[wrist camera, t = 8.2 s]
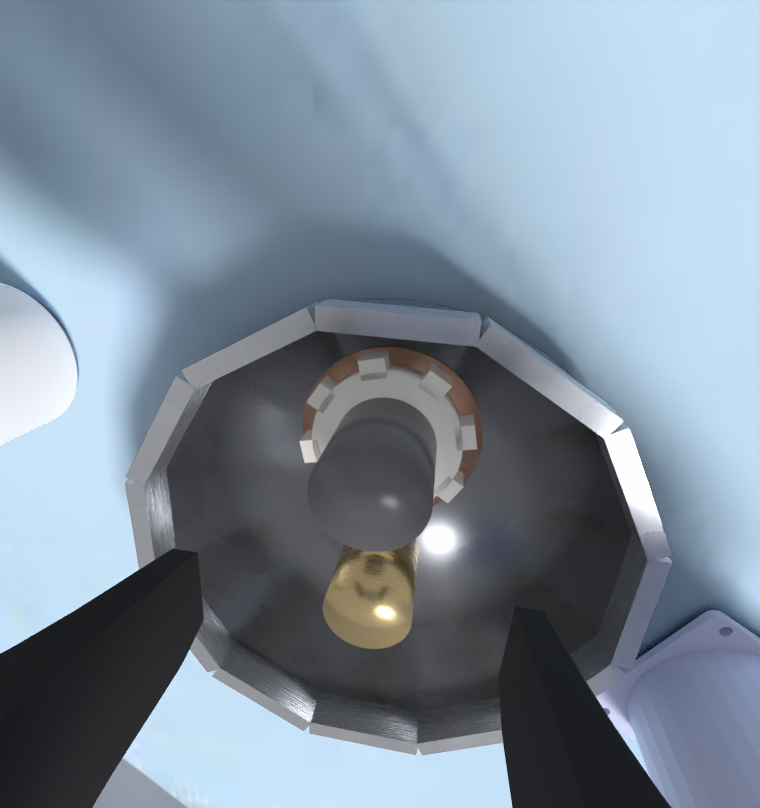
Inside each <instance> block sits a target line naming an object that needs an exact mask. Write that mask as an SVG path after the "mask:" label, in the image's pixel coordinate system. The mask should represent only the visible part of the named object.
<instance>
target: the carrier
mask: <svg viewBox="0 0 760 808" xmlns="http://www.w3.org/2000/svg"><path fill="white" fill-rule="evenodd" d="M381 351H388V354H389V360H390V364H396V365H402V366H407V367H410V368H413V369H416V370H418V371H420V372H422V373H423V372H424V371H425V370H426V369H427V367H428V366H429V365H430V364H431V362H432V363H433V364H435V365H436V366H437V367H439V368H440V369H441V370H443V371H444V372H445V373H447V374H448V375H449V376H451V377H452V387H451V389H450V390H449V391H448V392H447V393H448V394H449V395H450V397H451V398H452V400H453V401H454V403H455V405H456V407H457V409H458V412H459V415H471V414H473V415H474V423H475V432H476V442H477V449H474V450H463V453H462V459H461V463H460V466H459V468H458V470H459V471H461V472H462V473H463V484H464V487H463V488H462V489H461V490H460V491H459V492H458V493H457V494H456V495H455V496H454V498H453V499H452V500H451V501H450V502H449V503H447V502H445V501H444V500H442V499H441V498H440V497H438V496H436V497H435V498H433V510H432V514H431V518H430V520H429V523H428V525H427V526H426V528H425V529H424V531H423V532H422V533H421V534H420V535H419V536H418V537H417V538H416V539H415V540H414V541H412V542H410V543H409V544H407V545H405V546H403V547H401V548H398V549H395V550H390V551H384V552H369V551H362V550H358V549H355V548H352V547H349V546H347V545H345V544H342V543H341V542H339V541H337V540H336V539H334V538H333V537H331V536H330V535H329V534H328V533H327V532H326V531H325V530H324V529H323V528H322V527H321V526H320V525H319V523H318V522H317V520H316V519H315V517H314V515H313V513H312V511H311V509H310V506H309V502H308V496H307V488H308V481H309V477H310V475H311V472H312V470H313V468H314V467H315V465H316V463H317V462H311V463H305V462H304V458H303V454H302V450H301V446H300V442H299V441H300V439H301V438H302V437H303V435H304V434H305V433H306V431H307V430H312V429H313V423H314V419H315V416H316V413H317V411H318V410H316V409H315V408H314V407H312V406H311V405H309V404H308V403H307V401H308V399H309V398H310V396H311V395H312V393H313V392H314V391H315V389H316V388H317V386H318V385H319V384H320V382H321V381H322V380H323V379H324V378H325V377H326V375H328V376H330V377H331V378H332V379H334V380H335V381H337V382H339V381H340V380H342V379H343V378H344V377H346V376H347V375H349V374H350V373H352V372H354V371H356V370H358V369H359V366H358V360H359V359H360V357H361V356H362V354H365V353H373V352H381ZM181 371H182V373H180V374H178V375H176V376H175V378H174V380H173V382H172V384H171V386H170V388H169V390H168V392H167V394H166V396H165V398H164V400H163V402H162V404H161V406H160V408H159V410H158V413H157V415H156V417H155V419H154V421H153V423H152V425H151V427H150V429H149V431H148V433H147V435H146V437H145V439H144V441H143V443H142V445H141V447H140V449H139V451H138V453H137V455H136V457H135V459H134V461H133V463H132V465H131V467H130V469H129V471H128V473H127V475H126V477H127V478H129V480H128V481H127V482H125V486H126V492H127V498H128V504H129V510H130V516H131V522H132V528H133V534H134V540H135V546H136V552H137V558H138V564H139V570H140V569H141V568H143V567H144V566H146V565H147V564H149V563H150V562H152V561H154V560H155V559H157V558H158V557H160V556H161V555H163V554H165V553H166V552H168V551H170V550H171V549H173V548H174V549H180V550H186V551H192V552H197V553H198V562H199V572H200V583H201V593H202V604H203V614H204V620H203V622H202V625H201V627H200V629H199V631H198V633H197V635H196V637H195V639H194V641H193V643H192V645H191V647H190V650H191V651H192V653H193V654H194V655H195V657H196V658H197V659H198V661H199V662H200V663H201V664H202V666H203V667H204V668H205V670H206V671H207V672H210V671H214V670H215V672H214V674H213V676H212V677H214V678H216V679H217V680H219V681H221V682H222V683H224V684H226V685H227V686H229V687H231V688H232V689H234V690H236V691H238V692H239V693H241V694H243V695H244V696H246V697H248V698H249V699H251V700H253V701H254V702H256V703H258V704H259V705H261V706H263V707H264V708H266V709H268V710H269V711H271V712H273V713H274V714H276V715H278V716H279V717H281V718H283V719H284V720H286V721H288V722H289V723H291V724H293V725H294V726H296V727H298V728H299V729H301V730H303V731H304V730H305V729H306V728H307V727H308V726H309V725H310V732H309V733H311V734H316V735H320V736H325V737H330V738H335V739H340V740H345V741H350V742H355V743H360V744H365V745H369V746H374V747H379V748H384V749H389V750H394V751H399V752H404V753H409V754H414V755H416V752H417V747H418V749H419V750H420V752H421V754H422V755H427V754H434V753H440V752H447V751H453V750H459V749H466V748H472V747H479V746H485V745H491V744H498V743H503V737H502V730H501V714H500V692H499V671H500V667H501V663H502V659H503V655H504V651H505V647H506V642H507V638H508V634H509V630H510V626H511V622H512V618H513V613H514V609H515V606H517V607H523V608H529V609H535V610H540V611H545V612H546V614H547V615H548V616H549V618H550V620H551V621H552V623H553V625H554V627H555V629H556V630H557V632H558V634H559V636H560V638H561V639H562V641H563V643H564V645H565V646H566V648H567V650H568V652H569V653H570V655H571V657H572V658H573V660H574V662H575V663H576V665H577V667H578V669H579V670H580V672H581V674H582V675H583V677H584V679H585V680H586V682H587V683H588V685H589V687H590V688H591V690H592V692H593V693H594V695H595V696H596V695H598V694H599V693H601V692H602V691H604V690H605V689H607V688H608V687H610V686H611V685H613V684H614V683H615V682H617V681H618V680H620V679H621V678H623V677H624V676H626V675H627V672H626V669H625V668H628V669H632V667H633V665H634V662H635V660H636V657H637V654H638V652H639V649H640V647H641V644H642V642H643V639H644V636H645V634H646V631H647V629H648V626H649V623H650V621H651V618H652V616H653V613H654V610H655V608H656V605H657V603H658V600H659V598H660V595H661V592H662V590H663V587H664V585H665V582H666V579H667V577H668V574H669V572H670V569H671V566H672V564H673V563H672V561H671V560H670V558H669V557H670V556H673V554H672V551H671V548H670V545H669V542H668V540H667V537H666V534H665V531H664V528H663V525H662V522H661V519H660V516H659V513H658V510H657V507H656V504H655V501H654V499H653V496H652V493H651V490H650V487H649V484H648V481H647V478H646V475H645V472H644V469H643V466H642V463H641V460H640V458H639V455H638V452H637V449H636V446H635V443H634V440H633V437H632V434H631V431H630V428H629V427H628V426H627V425H626V424H625V423H624V422H623V421H624V420H623V419H622V418H621V417H620V416H619V415H618V414H617V413H616V412H615V411H614V409H613V408H612V407H611V406H610V405H609V404H608V403H607V402H605V401H604V400H602V399H601V398H600V397H598V396H597V395H595V394H594V393H593V392H591V391H590V390H589V389H587V388H586V387H584V386H583V385H582V384H580V383H579V382H578V381H576V380H575V379H573V378H572V377H571V376H570V375H569V374H568V372H566V371H565V370H564V369H563V368H562V367H560V366H559V365H558V364H557V363H556V362H555V361H553V360H552V359H551V358H550V357H549V356H547V355H546V354H545V353H544V352H543V351H541V350H540V349H539V348H537V347H535V346H534V345H532V344H531V343H529V342H527V341H526V340H524V339H523V338H521V337H519V336H518V335H516V334H515V333H513V332H511V331H510V330H507V329H505V328H503V327H502V326H500V325H499V324H498V323H496V322H495V321H493V320H492V319H491V318H489V317H488V316H487V317H486V319H483V318H481V317H480V315H479V313H475V312H464V311H459V310H456V309H452V308H449V307H446V306H442V305H437V304H430V303H424V302H418V301H411V300H400V299H364V300H355V301H343V300H332V299H326V300H324V301H323V302H321V303H320V302H319V301H317V302H315V303H313V304H311V305H309V306H307V307H305V308H303V309H301V310H299V311H297V312H295V313H293V314H291V315H289V316H287V317H285V318H283V319H281V320H279V321H277V322H275V323H273V324H271V325H269V326H267V327H265V328H263V329H261V330H259V331H257V332H256V333H254V334H252V335H250V336H248V337H246V338H244V339H242V340H240V341H238V342H236V343H234V344H232V345H230V346H228V347H226V348H224V349H222V350H220V351H218V352H216V353H214V354H212V355H210V356H208V357H206V358H204V359H202V360H200V361H198V362H196V363H194V364H192V365H190V366H188V367H186V368H185V369H183V370H181Z"/></svg>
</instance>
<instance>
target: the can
mask: <svg viewBox="0 0 760 808" xmlns="http://www.w3.org/2000/svg"><path fill="white" fill-rule="evenodd" d="M77 382H78V363H77V358H76V354H75V351H74V348H73V345H72V343H71V341H70V339H69V337H68V335H67V333H66V332H65V330H64V329H63V327H62V326H61V324H60V323H59V322H58V320H57V319H56V318H55V317H54V316H53V315H52V314H51V313H50V312H49V311H48V310H47V309H46V308H45V307H44V306H42V305H41V304H40V303H39V302H37V301H36V300H34V299H33V298H32V297H30V296H29V295H27V294H25V293H24V292H22V291H20V290H18V289H16V288H14V287H12V286H9V285H6V284H3V283H0V445H2V444H4V443H7V442H9V441H11V440H13V439H15V438H17V437H19V436H21V435H23V434H25V433H27V432H29V431H31V430H33V429H36V428H38V427H40V426H42V425H44V424H46V423H48V422H50V421H52V420H53V419H55V418H57V417H58V416H60V415H61V414H63V413H64V412H65V411H66V410H67V408H68V407H69V406H70V404H71V402H72V400H73V398H74V396H75V392H76V388H77Z"/></svg>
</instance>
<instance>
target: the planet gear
mask: <svg viewBox="0 0 760 808" xmlns="http://www.w3.org/2000/svg"><path fill="white" fill-rule="evenodd" d="M358 366H359V369H358V370H356V371H354V372H352V373H350V374H349V375H347V376H346V377H344V378H343V379H342V380H340V381H339V382H337V381H335V380H334V379H332V378H331V377H330V376H328V375H326V377H325V378H324V379H323V380H322V381H321V382H320V384H319V385H318V386H317V388H316V389H315V391H314V392H313V393H312V395H311V396H310V398H309V399H308V401H307V403H308V404H309V405H311V406H312V407H314V408H315V409H316V410H318V411H317V413H316V416H315V419H314V423H313V429H312V430H307V431H306V433H305V434H304V435H303V437H302V438H301V439H300V441H299V442H300V446H301V450H302V454H303V458H304V462H305V463H311V462H317V463H316V465H315V467H314V468H313V470H312V472H311V475H310V477H309V481H308V488H307V496H308V502H309V506H310V509H311V511H312V513H313V515H314V517H315V519H316V520H317V522H318V523H319V525H320V526H321V527H322V528H323V529H324V530H325V531H326V532H327V533H328V534H329V535H330V536H331V537H333V538H334V539H336V540H337V541H339V542H341V543H342V544H345V545H347V546H349V547H352V548H355V549H358V550H362V551H369V552H384V551H390V550H395V549H398V548H401V547H403V546H405V545H407V544H409V543H410V542H412V541H414V540H415V539H416V538H417V537H418V536H419V535H420V534H421V533H422V532H423V531H424V529H425V528H426V526H427V525H428V523H429V520H430V518H431V514H432V510H433V498H435V497H436V496H438V497H440V498H441V499H442V500H444V501H445V502H447V503H449V502H450V501H451V500H452V499H453V498H454V496H455V495H456V494H457V493H458V492H459V491H460V490H461V489H462V488H463V487H464V484H463V473H462V472H461V471H459V470H458V468H459V466H460V463H461V459H462V453H463V450H474V449H477V442H476V432H475V423H474V415H473V414H471V415H459V412H458V409H457V407H456V405H455V403H454V401H453V400H452V398H451V397H450V395H449V394H448V393H447V392H448V391H449V390H450V389H451V387H452V377H451V376H449V375H448V374H447V373H445V372H444V371H443V370H441V369H440V368H439V367H437V366H436V365H435V364H433V363H432V362H431V364H430V365H429V366H428V367H427V369H426V370H425V371H424V372H423V373H422V372H420V371H418V370H416V369H413V368H410V367H407V366H402V365H396V364H390V360H389V354H388V351H381V352H373V353H365V354H362V356H361V357H360V359H359V360H358Z"/></svg>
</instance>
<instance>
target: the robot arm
mask: <svg viewBox="0 0 760 808" xmlns="http://www.w3.org/2000/svg"><path fill="white" fill-rule="evenodd" d="M203 620H204V614H203V604H202V593H201V583H200V572H199V562H198V553H197V552H192V551H186V550H180V549H174V548H173V549H171V550H170V551H168V552H166V553H165V554H163V555H161V556H160V557H158V558H157V559H155V560H154V561H152V562H150V563H149V564H147V565H146V566H144V567H143V568H141V569H140V570H138V571H136V572H135V573H133V574H132V575H130V576H129V577H127V578H126V579H124V580H123V581H121V582H119V583H118V584H116V585H115V586H113V587H112V588H110V589H108V590H107V591H105V592H104V593H102V594H101V595H99V596H97V597H96V598H94V599H93V600H91V601H89V602H88V603H86V604H85V605H83V606H82V607H80V608H78V609H77V610H75V611H74V612H72V613H70V614H68V615H67V616H65V617H63V618H62V619H60V620H58V621H57V622H55V623H53V624H51V625H50V626H48V627H46V628H45V629H43V630H41V631H40V632H38V633H36V634H34V635H33V636H31V637H29V638H28V639H26V640H24V641H23V642H21V643H19V644H17V645H16V646H14V647H12V648H10V649H8V650H7V651H5V652H3V653H1V654H0V808H92V807H93V806H94V804H95V802H96V800H97V798H98V797H99V795H100V793H101V791H102V790H103V788H104V787H105V785H106V783H107V782H108V780H109V778H110V776H111V775H112V773H113V772H114V770H115V769H116V767H117V765H118V764H119V762H120V761H121V759H122V758H123V756H124V755H125V753H126V751H127V750H128V748H129V747H130V745H131V744H132V742H133V741H134V739H135V737H136V736H137V734H138V733H139V731H140V730H141V728H142V726H143V725H144V723H145V722H146V720H147V719H148V717H149V716H150V714H151V712H152V711H153V709H154V708H155V706H156V705H157V703H158V702H159V700H160V698H161V697H162V695H163V694H164V692H165V690H166V689H167V687H168V686H169V684H170V683H171V681H172V679H173V678H174V676H175V675H176V673H177V671H178V670H179V668H180V667H181V665H182V663H183V661H184V659H185V657H186V655H187V653H188V651H189V649H190V647H191V645H192V643H193V641H194V639H195V637H196V635H197V633H198V631H199V629H200V627H201V625H202V622H203ZM723 627H725V628H723ZM721 628H723V629H721ZM625 669H626V672H627V675H626V676H624V677H623V678H621V679H620V680H618V681H617V682H615V683H614V684H613V685H611V686H610V687H608V688H607V689H605V690H604V691H602V692H601V693H599V694H598V695H596V696H595V695H594V693H593V692H592V690H591V688H590V687H589V685H588V683H587V682H586V680H585V679H584V677H583V675H582V674H581V672H580V670H579V669H578V667H577V665H576V663H575V662H574V660H573V658H572V657H571V655H570V653H569V652H568V650H567V648H566V646H565V645H564V643H563V641H562V639H561V638H560V636H559V634H558V632H557V630H556V629H555V627H554V625H553V623H552V621H551V620H550V618H549V616H548V615H547V614H546V612H545V611H540V610H535V609H529V608H523V607H517V606H515V609H514V613H513V618H512V622H511V626H510V630H509V634H508V638H507V642H506V647H505V651H504V655H503V659H502V663H501V667H500V671H499V692H500V714H501V730H502V737H503V744H504V751H505V758H506V765H507V772H508V779H509V786H510V793H511V800H512V806H513V808H760V638H759V637H757V636H756V635H754V634H753V633H752V632H750V631H749V630H747V629H746V628H744V627H743V626H741V625H740V624H739V623H737V622H736V621H734V620H733V619H731V618H730V617H728V616H727V615H726V614H724V613H723V612H721V611H718V610H709V611H706V612H704V613H703V614H701V615H700V616H699V617H697V618H696V619H694V620H693V621H691V622H690V623H688V624H687V625H686V626H684V627H683V628H681V629H680V630H678V631H677V632H675V633H674V634H673V635H671V636H670V637H668V638H667V639H665V640H664V641H662V642H661V643H660V644H658V645H657V646H655V647H654V648H652V649H651V650H650V651H648V652H647V653H645V654H644V655H642V656H641V657H639V658H638V659H637V660H635V662H634V665H633V667H632V669H628V668H625ZM617 729H618V730H619V731H621V732H622V733H624V734H625V735H627V736H628V737H630V738H632V739H633V740H635V741H636V742H638V745H639V748H640V751H641V753H642V756H643V759H644V762H645V764H646V767H647V770H648V773H649V775H650V777H649V776H648V774H647V773H646V771H645V770H644V769H643V767H642V766H641V764H640V763H639V761H638V760H637V759H636V757H635V756H634V754H633V753H632V751H631V750H630V748H629V747H628V746H627V744H626V743H625V741H624V740H623V738H622V737H621V735H620V734H619V732H618V731H617ZM650 778H651V779H650Z"/></svg>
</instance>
